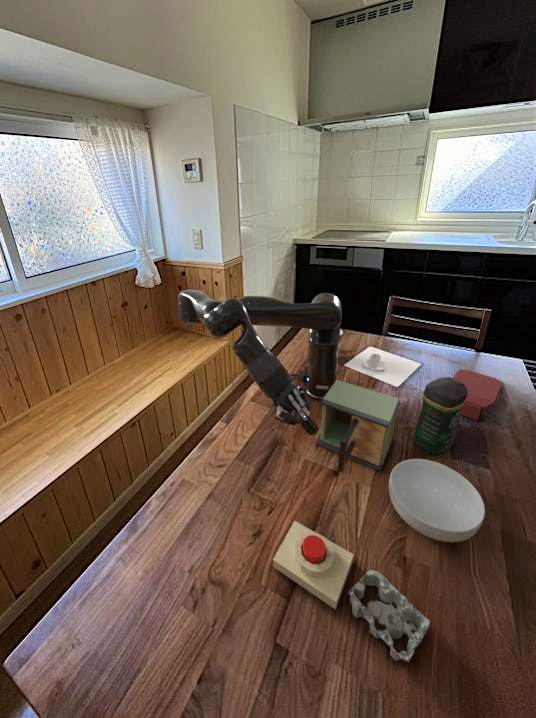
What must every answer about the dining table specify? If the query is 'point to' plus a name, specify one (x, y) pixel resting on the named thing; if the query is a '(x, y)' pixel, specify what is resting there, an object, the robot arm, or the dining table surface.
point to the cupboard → (358, 403)
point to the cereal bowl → (436, 500)
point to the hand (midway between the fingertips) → (314, 432)
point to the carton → (478, 392)
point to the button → (314, 549)
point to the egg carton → (389, 614)
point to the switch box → (314, 565)
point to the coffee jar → (440, 414)
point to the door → (362, 442)
